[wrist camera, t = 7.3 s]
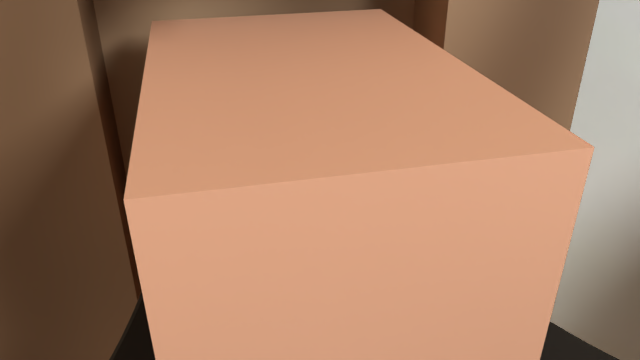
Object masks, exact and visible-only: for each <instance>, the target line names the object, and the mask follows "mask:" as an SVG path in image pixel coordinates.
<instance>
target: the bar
mask: <svg viewBox="0 0 640 360" xmlns="http://www.w3.org/2000/svg"><path fill="white" fill-rule="evenodd" d="M593 151H594V147H593V146H592V145H590V144H589V143H587V142H586V141H584V140H583V139H581V138H579V137H578V136H576V135H575V134H573V133H572V132H570V131H569V130H567V129H566V128H564V127H562V126H561V125H559V124H558V123H556V122H555V121H553V120H552V119H550V118H549V117H547V116H545V115H544V114H542V113H541V112H539V111H538V110H536V109H535V108H533V107H531V106H530V105H528V104H527V103H525V102H524V101H522V100H521V99H519V98H518V97H516V96H514V95H513V94H511V93H510V92H508V91H507V90H505V89H504V88H502V87H501V86H499V85H497V84H496V83H494V82H493V81H491V80H490V79H488V78H487V77H485V76H484V75H482V74H480V73H479V72H477V71H476V70H474V69H473V68H471V67H470V66H468V65H467V64H465V63H463V62H462V61H460V60H459V59H457V58H456V57H454V56H453V55H451V54H450V53H448V52H446V51H445V50H443V49H442V48H440V47H439V46H437V45H436V44H434V43H432V42H431V41H429V40H428V39H426V38H425V37H423V36H422V35H420V34H419V33H417V32H415V31H414V30H412V29H411V28H409V27H408V26H406V25H405V24H403V23H402V22H400V21H398V20H397V19H395V18H394V17H392V16H391V15H389V14H388V13H386V12H385V11H383V10H381V9H370V10H351V11H332V12H313V13H294V14H275V15H256V16H237V17H218V18H199V19H180V20H161V21H152V23H151V29H150V36H149V42H148V48H147V55H146V61H145V67H144V74H143V80H142V86H141V93H140V99H139V105H138V112H137V118H136V124H135V131H134V137H133V143H132V150H131V156H130V162H129V169H128V175H127V181H126V187H125V194H124V205H125V210H126V215H127V220H128V225H129V230H130V235H131V240H132V245H133V250H134V255H135V260H136V265H137V270H138V275H139V280H140V285H141V290H142V295H143V300H144V305H145V310H146V314H147V319H148V324H149V329H150V334H151V339H152V344H153V349H154V354H155V359H156V360H540V357H541V353H542V349H543V346H544V342H545V338H546V334H547V330H548V326H549V322H550V318H551V314H552V310H553V307H554V303H555V299H556V295H557V291H558V287H559V283H560V279H561V275H562V272H563V268H564V264H565V260H566V256H567V252H568V248H569V244H570V240H571V236H572V233H573V229H574V225H575V221H576V217H577V213H578V209H579V205H580V201H581V197H582V194H583V190H584V186H585V182H586V178H587V174H588V170H589V166H590V162H591V159H592V155H593Z"/></svg>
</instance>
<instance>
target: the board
mask: <svg viewBox="0 0 640 360" xmlns="http://www.w3.org/2000/svg"><path fill="white" fill-rule="evenodd" d="M598 4H599V0H0V360H109V359H110V357H111V356H112V354H113V352H114V350H115V348H116V346H117V344H118V343H119V341H120V339H121V337H122V334H123V332H124V330H125V328H126V326H127V324H128V322H129V320H130V318H131V316H132V313H133V311H134V309H135V306H136V304H137V302H138V299H139V296H140V294H141V291H142V290H141V285H140V280H139V275H138V270H137V265H136V260H135V255H134V250H133V245H132V240H131V235H130V230H129V225H128V220H127V215H126V210H125V205H124V194H125V187H126V181H127V175H128V169H129V162H130V156H131V150H132V143H133V137H134V131H135V124H136V118H137V112H138V105H139V99H140V93H141V86H142V80H143V74H144V67H145V61H146V55H147V48H148V42H149V36H150V29H151V23H152V21H161V20H180V19H199V18H218V17H237V16H256V15H275V14H294V13H313V12H332V11H351V10H370V9H381V10H383V11H385V12H386V13H388V14H389V15H391V16H392V17H394V18H395V19H397V20H398V21H400V22H402V23H403V24H405V25H406V26H408V27H409V28H411V29H412V30H414V31H415V32H417V33H419V34H420V35H422V36H423V37H425V38H426V39H428V40H429V41H431V42H432V43H434V44H436V45H437V46H439V47H440V48H442V49H443V50H445V51H446V52H448V53H450V54H451V55H453V56H454V57H456V58H457V59H459V60H460V61H462V62H463V63H465V64H467V65H468V66H470V67H471V68H473V69H474V70H476V71H477V72H479V73H480V74H482V75H484V76H485V77H487V78H488V79H490V80H491V81H493V82H494V83H496V84H497V85H499V86H501V87H502V88H504V89H505V90H507V91H508V92H510V93H511V94H513V95H514V96H516V97H518V98H519V99H521V100H522V101H524V102H525V103H527V104H528V105H530V106H531V107H533V108H535V109H536V110H538V111H539V112H541V113H542V114H544V115H545V116H547V117H549V118H550V119H552V120H553V121H555V122H556V123H558V124H559V125H561V126H562V127H564V128H566V129H567V130H569V131H570V128H571V123H572V119H573V114H574V110H575V105H576V101H577V97H578V92H579V88H580V83H581V79H582V75H583V70H584V66H585V61H586V57H587V52H588V48H589V44H590V39H591V35H592V30H593V26H594V22H595V17H596V13H597V8H598Z"/></svg>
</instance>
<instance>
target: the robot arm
mask: <svg viewBox="0 0 640 360" xmlns="http://www.w3.org/2000/svg"><path fill="white" fill-rule="evenodd" d="M109 360H156V359H155V354H154V349H153V344H152V339H151V334H150V329H149V324H148V319H147V314H146V310H145V305H144V300H143V295H142V291H141V294H140V296H139V299H138V302H137V304H136V306H135V309H134V311H133V313H132V316H131V318H130V320H129V322H128V324H127V326H126V328H125V330H124V332H123V334H122V337H121V339H120V341H119V343H118V344H117V346H116V348H115V350H114V352H113V354H112V356H111V357H110V359H109ZM540 360H619V359H617V358H615V357H613V356H611V355H609V354H607V353H605V352H603V351H601V350H599V349H597V348H595V347H593V346H592V345H590V344H588V343H586V342H584V341H582V340H581V339H579V338H577V337H575V336H574V335H572V334H570V333H568V332H567V331H565V330H563V329H562V328H560V327H558V326H557V325H555V324H553V323H551V322H549V326H548V330H547V334H546V338H545V342H544V346H543V349H542V353H541V357H540Z"/></svg>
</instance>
